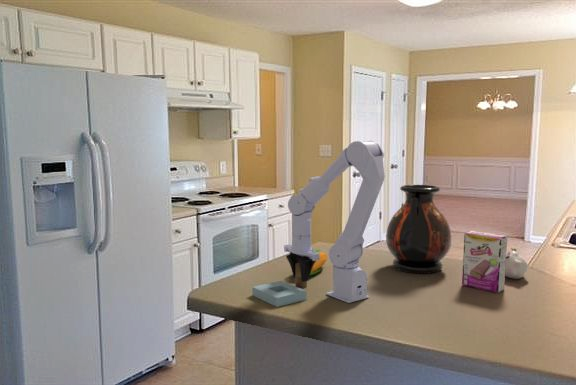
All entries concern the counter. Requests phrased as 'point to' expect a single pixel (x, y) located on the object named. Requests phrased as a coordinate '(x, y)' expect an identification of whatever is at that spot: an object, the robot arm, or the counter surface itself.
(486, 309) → the counter surface
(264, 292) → the board
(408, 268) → the black and orange vase
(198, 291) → the counter surface
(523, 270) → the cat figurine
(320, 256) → the corn
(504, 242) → the candy bar box
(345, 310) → the counter surface
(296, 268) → the peg
